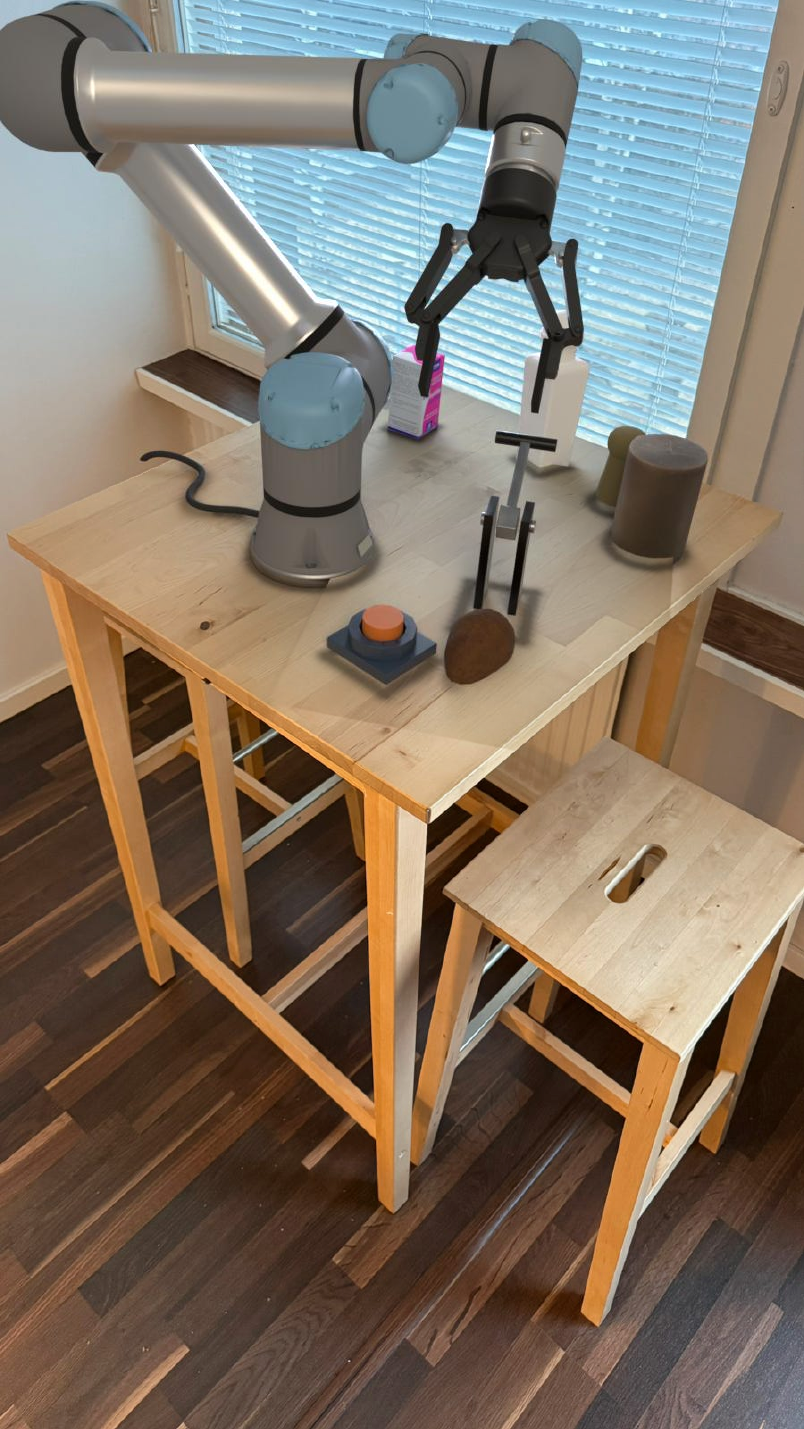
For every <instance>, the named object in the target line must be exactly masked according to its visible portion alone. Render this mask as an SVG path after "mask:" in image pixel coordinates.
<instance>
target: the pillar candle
mask: <svg viewBox="0 0 804 1429" xmlns="http://www.w3.org/2000/svg"><path fill="white" fill-rule="evenodd" d="M708 461H709V454H708V452H707V450H706V449H705V448H704V447H703V446H702V445H701V444H700V443H699V442H696V441H694V440H692V439H690V438H687V437H682V436H678V435H676V434H675V435H673V434H668V433H650V434H646V435H642V436H641V435H640V436H637V437H636V439H634V440H633V441H632V442H631V443H630V445H629V449H628V454H627V459H626V464H625V469H624V473H623V478H622V483H621V487H620V491H619V496H618V501H617V505H616V506H615V509H614V515H613V520H612V523H611V527H610V528H611V529H610V534H609V535H610V539H611V541H612V543H613V544H615V546H617V547H618V548H620V549H621V550H623V551H625V552H627V553H628V554H631V555H635V556H637V557H642V558H647V559H670V558H672V564H676V563H678V562H679V561H680V560H681V559H682V558H683V555H684V553H685V550H686V545H687V541H688V538H689V534H690V530H691V528H692V527H691V526H692V522H693V519H694V515H695V511H696V509H697V508H696V507H697V504H698V500H699V495H700V492H701V488H702V485H703V480H704V476H705V473H706V469H707V465H708Z"/></svg>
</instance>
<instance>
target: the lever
mask: <svg viewBox="0 0 804 1429" xmlns="http://www.w3.org/2000/svg"><path fill="white" fill-rule="evenodd" d="M518 433H519V432H510V431H504V430H499V429H498V430H496V432H495V435H494V444H498V445H503V446H504V445H505V446H511V447H516V448H517V447H519V451H518V456H517V455H516V456H517V459H515V460H516V461H515V466H514V470H513V474H512V478H511V483H510V486H509V487H510V488H509V492H508V496H507V501H506V504H501V505H500V507H499V510H498V515H497V520H496V528H495V538H498V539H504V540H509V541H516V538H517V534H518V529H519V526H520V521H521V507H518V504H519V500H520V496H521V490H522V486H523V482H524V481H523V480H524V478H525V477H524V476H525V472H526V467H527V463H528V460H527V458H528V454H529V449H537V450H543V451H550V452H555V451H556V447H557V439H552V438H545V437H538V436H532V435H525V434H518Z"/></svg>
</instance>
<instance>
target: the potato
mask: <svg viewBox="0 0 804 1429" xmlns="http://www.w3.org/2000/svg"><path fill="white" fill-rule="evenodd" d="M515 645H516V634H515V628H514V627H513V625H512V623H511V622H510V620H509V618H507V617H506V616H505V615H503V613H501V612H500V611H497V610H494V609H491V608H482V609H474V610H471V611H469V612H467V613H464V614H463V615H462V616H460V617H459V618H458V619H457V620H456V621H455V622H454V623H453V624H452V627H451V629H450V631H449V634H448V637H447V640H446V643H445V647H444V652H443V661H444V668H445V673H446V675H447V677H448V678H449V680H451V682H452V683H455V684H458V685H459V686H463V685H474V684H475V683H477V682H480V681H482V680H484V679H486V678H488V677H489V676H491V675H492V674H494V673H495V672H497V671H499V670H500V669H501V668H503V666H505V665H506V664H508V663H509V661H510V660H511V658H512V656H513V655H514V651H515Z"/></svg>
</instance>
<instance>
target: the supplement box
mask: <svg viewBox="0 0 804 1429" xmlns="http://www.w3.org/2000/svg"><path fill="white" fill-rule="evenodd" d="M415 345H416V344H413V345H410V346H409V347H407V348H404V349H403V350H401V351H399V352H398V353H396V354H394V355H393V356H392V361H393V380H392V384H391V390H390V394H389V402H388V404H389V405H388V417H387V428H386V429H387V430H389V431H392V432H394V433H398V434H401V435H403V436H406V437H408V438H411V439H414V440H420V439H421V438H422V437H423V436H425V435H426V434H428V433H429V432H431V431H432V430H435V429H436V428H438V426H439V416H440V406H441V395H442V389H443V388H442V387H443V379H444V378H443V377H444V368H445V357H446V355H445V354H442V353H440V352H437V355H436V360H435V365H434V370H433V375H432V380H431V385H430V390H429V395H428V397H422V396H421V395H420V392H419V388H418V383H419V378H420V373H421V368H422V363H423V361H420V360H417V357H416V353H415Z"/></svg>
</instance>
